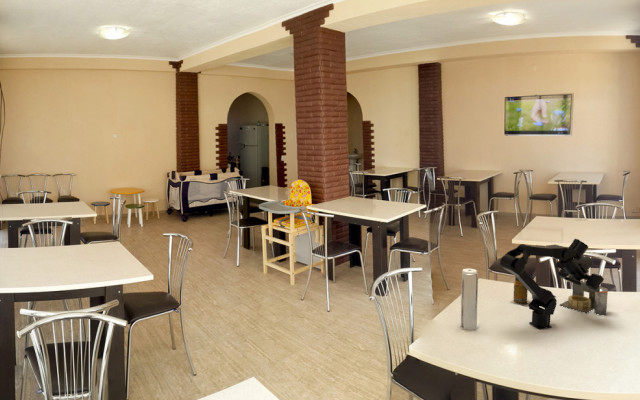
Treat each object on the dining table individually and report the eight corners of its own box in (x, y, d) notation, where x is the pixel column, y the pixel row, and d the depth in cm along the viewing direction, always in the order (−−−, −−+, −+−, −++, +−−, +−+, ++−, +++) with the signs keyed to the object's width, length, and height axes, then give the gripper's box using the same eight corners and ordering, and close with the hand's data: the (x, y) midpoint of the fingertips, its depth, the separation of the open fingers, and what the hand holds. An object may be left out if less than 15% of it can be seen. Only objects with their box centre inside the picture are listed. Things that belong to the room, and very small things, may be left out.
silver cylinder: (477, 330, 194) (479, 272, 190) (461, 329, 195) (462, 272, 191) (475, 324, 200) (477, 267, 196) (460, 323, 201) (461, 267, 198)
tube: (600, 316, 205) (601, 291, 203) (591, 312, 210) (593, 287, 208) (608, 314, 206) (610, 289, 204) (600, 311, 211) (601, 286, 209)
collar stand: (586, 313, 208) (587, 292, 207) (559, 305, 218) (560, 285, 217) (601, 305, 217) (602, 285, 216) (575, 298, 227) (576, 279, 225)
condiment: (517, 298, 229) (518, 274, 227) (534, 303, 222) (535, 278, 221) (509, 302, 224) (510, 278, 223) (526, 306, 218) (527, 282, 216)
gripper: (601, 257, 191) (620, 279, 196) (564, 247, 208) (581, 267, 213) (586, 278, 189) (604, 300, 195) (549, 266, 207) (567, 286, 212)
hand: (589, 287), depth 204 cm, fingers open, 9 cm apart
